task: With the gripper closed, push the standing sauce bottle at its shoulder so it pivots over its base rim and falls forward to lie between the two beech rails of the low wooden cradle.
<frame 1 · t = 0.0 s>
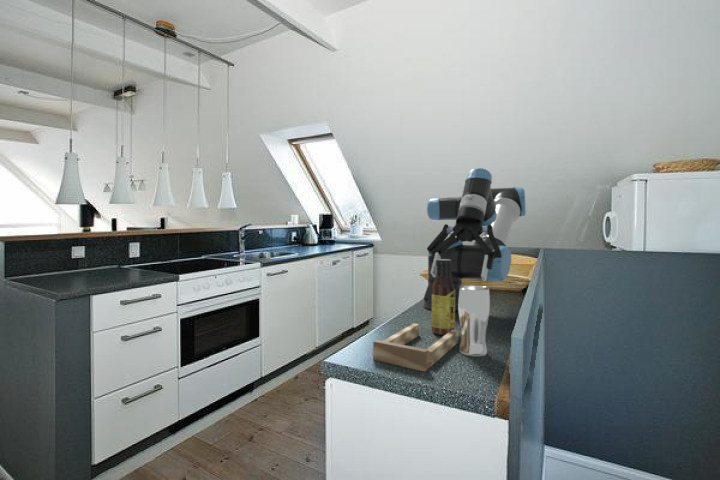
hand: (457, 277, 99), 15 cm above the countertop, tool tilted 35°, fingers open, 13 cm apart
beer glass: (472, 352, 86), on the countertop
cradle: (421, 348, 88), on the countertop
sauce bottle: (442, 333, 101), on the countertop
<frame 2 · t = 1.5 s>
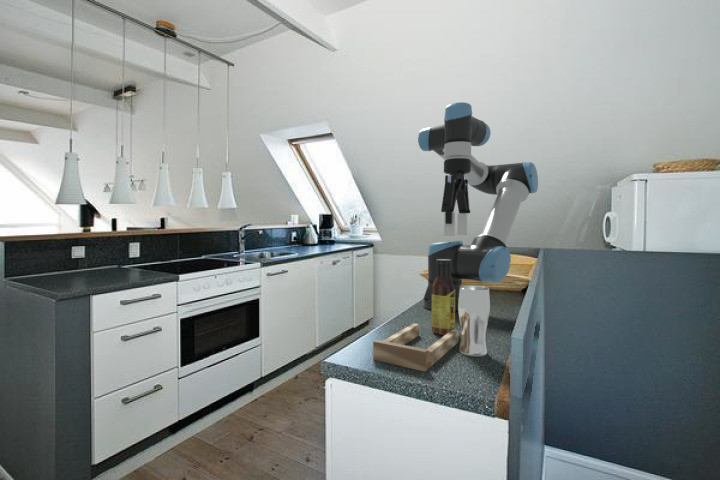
hand: (456, 235, 108), 26 cm above the countertop, tool pointing down, fingers open, 11 cm apart
nothing on the countertop moved.
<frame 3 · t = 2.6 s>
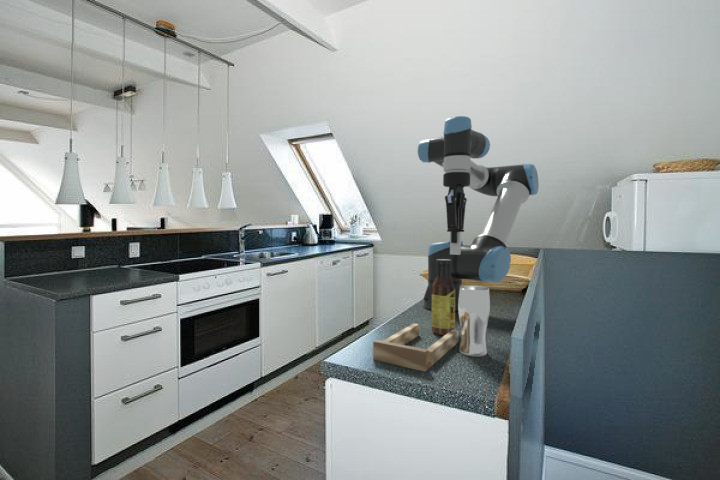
hand: (455, 254, 108), 21 cm above the countertop, tool pointing down, fingers closed
nothing on the countertop moved.
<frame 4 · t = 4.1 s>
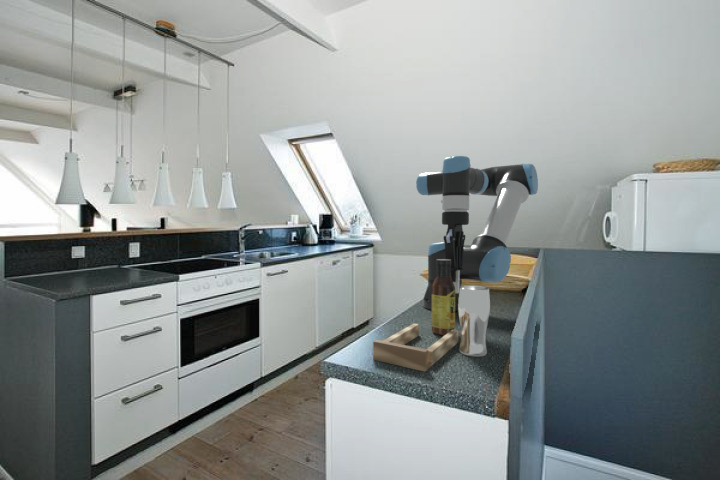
hand: (453, 292, 108), 10 cm above the countertop, tool pointing down, fingers closed
nothing on the countertop moved.
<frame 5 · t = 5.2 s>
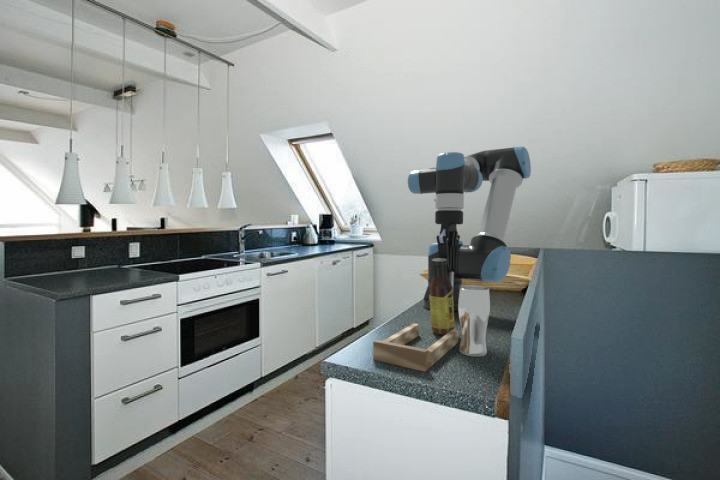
hand: (447, 295, 103), 10 cm above the countertop, tool pointing down, fingers closed
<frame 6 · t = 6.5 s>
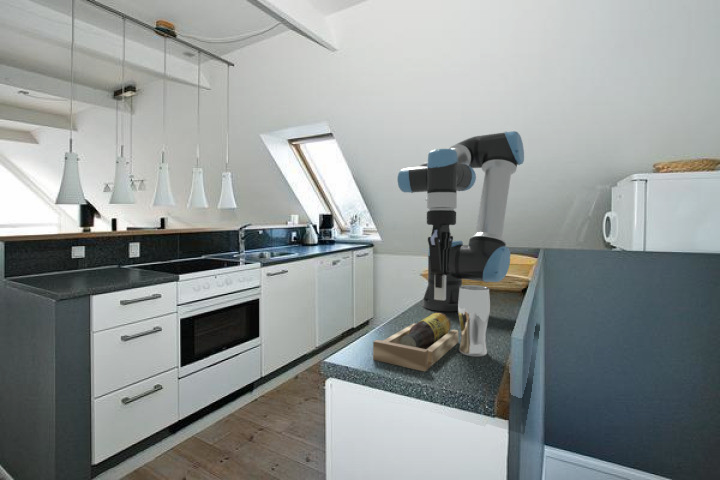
hand: (440, 299, 98), 10 cm above the countertop, tool pointing down, fingers closed
sauce bottle: (440, 322, 99), point 3 cm above the countertop
everything else where it was.
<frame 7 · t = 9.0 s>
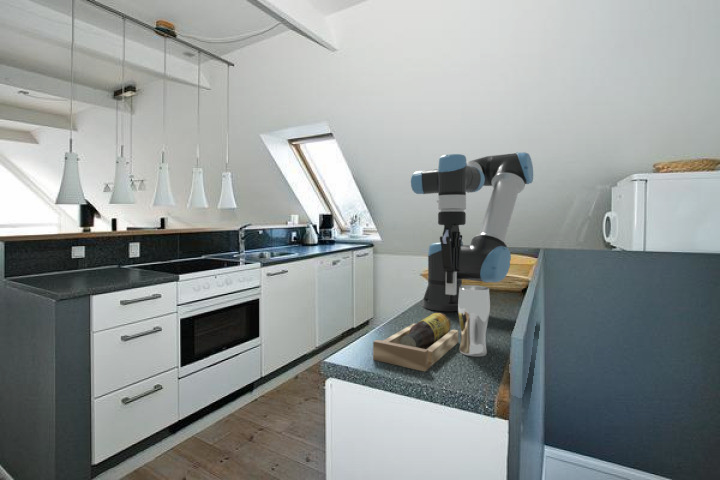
hand: (450, 294, 106), 9 cm above the countertop, tool pointing down, fingers closed
nothing on the countertop moved.
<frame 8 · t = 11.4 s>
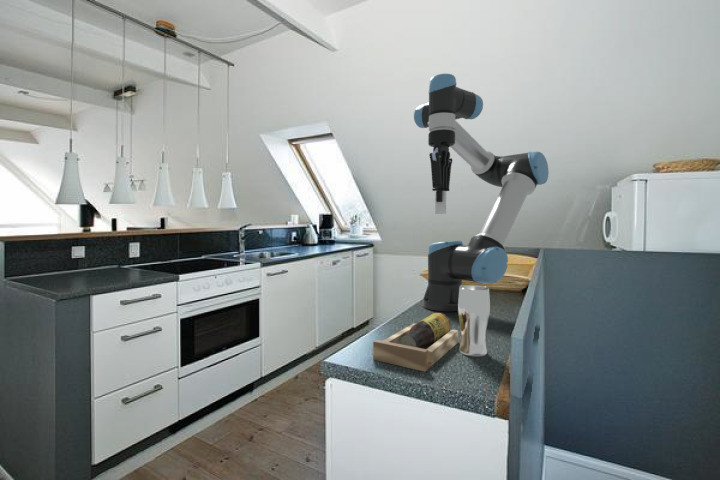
hand: (440, 213, 108), 32 cm above the countertop, tool pointing down, fingers closed
nothing on the countertop moved.
at the end: sauce bottle tilted 93°; sauce bottle inside the target area (10.0 cm from its centre), point 3.5 cm above the countertop; the gripper is holding nothing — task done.
